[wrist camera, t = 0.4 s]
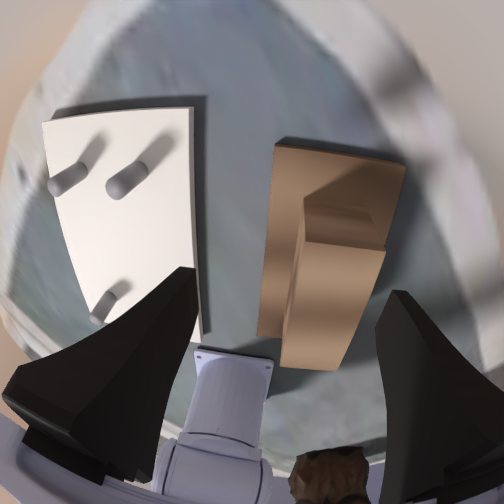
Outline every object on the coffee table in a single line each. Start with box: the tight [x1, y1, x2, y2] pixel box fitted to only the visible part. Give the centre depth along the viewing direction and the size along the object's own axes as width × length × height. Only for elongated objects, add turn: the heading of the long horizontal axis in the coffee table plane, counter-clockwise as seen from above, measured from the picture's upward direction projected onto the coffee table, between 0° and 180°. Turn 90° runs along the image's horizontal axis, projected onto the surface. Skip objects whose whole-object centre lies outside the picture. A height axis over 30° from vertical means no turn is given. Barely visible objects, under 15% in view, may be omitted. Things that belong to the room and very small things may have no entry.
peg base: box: [42, 107, 203, 343], centre depth 20 cm, size 20×12×4 cm, turn 177°
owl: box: [288, 446, 371, 504], centre depth 36 cm, size 13×13×20 cm
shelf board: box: [257, 143, 406, 371], centre depth 19 cm, size 16×8×6 cm, turn 177°
